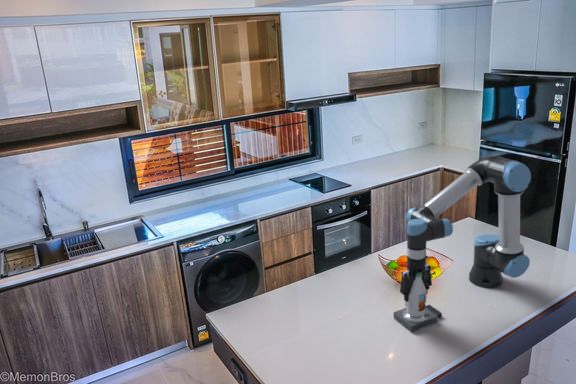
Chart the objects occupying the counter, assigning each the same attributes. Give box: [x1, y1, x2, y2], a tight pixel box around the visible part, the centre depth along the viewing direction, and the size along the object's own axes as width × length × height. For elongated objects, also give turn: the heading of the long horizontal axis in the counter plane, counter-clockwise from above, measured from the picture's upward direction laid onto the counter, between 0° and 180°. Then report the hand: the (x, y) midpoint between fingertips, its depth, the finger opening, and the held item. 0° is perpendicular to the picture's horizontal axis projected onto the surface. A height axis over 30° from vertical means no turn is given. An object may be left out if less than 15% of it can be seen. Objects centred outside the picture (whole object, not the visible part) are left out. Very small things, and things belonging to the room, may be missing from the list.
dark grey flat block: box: [393, 304, 443, 333], centre depth 208 cm, size 18×12×3 cm, turn 115°
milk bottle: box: [406, 272, 426, 317], centre depth 203 cm, size 8×8×20 cm
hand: (415, 303), depth 205 cm, fingers closed on milk bottle, 8 cm apart
